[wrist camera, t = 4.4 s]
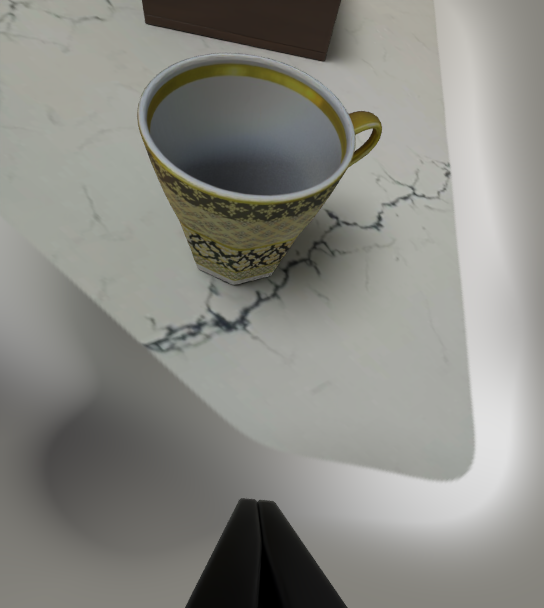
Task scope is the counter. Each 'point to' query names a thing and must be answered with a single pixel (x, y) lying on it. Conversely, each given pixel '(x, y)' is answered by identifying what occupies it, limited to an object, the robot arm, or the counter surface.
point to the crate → (253, 22)
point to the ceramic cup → (246, 155)
